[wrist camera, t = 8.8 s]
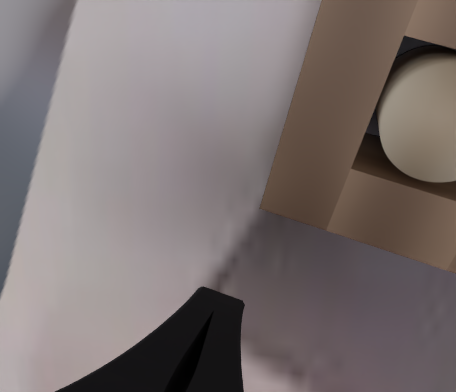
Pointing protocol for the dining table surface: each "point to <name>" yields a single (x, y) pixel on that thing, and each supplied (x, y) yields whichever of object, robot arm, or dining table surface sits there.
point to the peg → (421, 114)
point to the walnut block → (361, 135)
